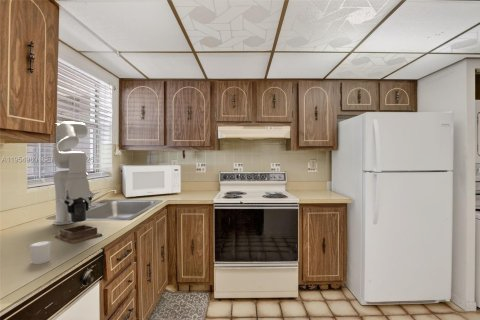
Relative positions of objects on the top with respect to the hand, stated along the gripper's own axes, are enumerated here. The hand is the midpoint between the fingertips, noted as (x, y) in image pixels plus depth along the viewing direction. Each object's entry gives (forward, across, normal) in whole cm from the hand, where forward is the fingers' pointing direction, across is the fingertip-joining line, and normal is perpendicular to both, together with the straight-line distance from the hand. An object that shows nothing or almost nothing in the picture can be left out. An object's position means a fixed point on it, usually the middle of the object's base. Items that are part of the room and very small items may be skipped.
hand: (78, 211), depth 135 cm
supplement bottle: (+5, 0, 0) cm, 5 cm away
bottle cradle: (+13, 0, 0) cm, 13 cm away
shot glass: (+13, +24, +20) cm, 34 cm away
